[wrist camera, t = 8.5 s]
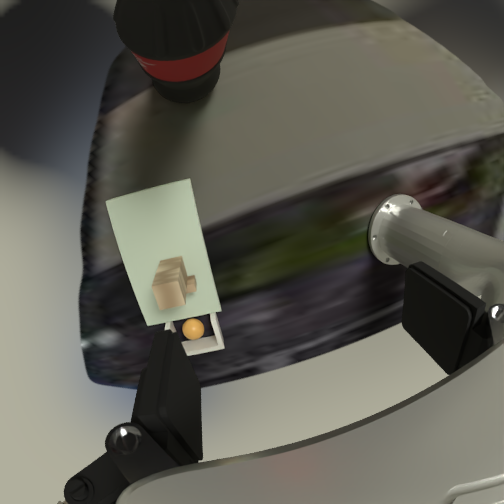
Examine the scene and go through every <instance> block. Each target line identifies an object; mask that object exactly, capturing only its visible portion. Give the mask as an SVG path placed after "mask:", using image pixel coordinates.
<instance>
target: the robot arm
mask: <svg viewBox="0 0 504 504" xmlns="http://www.w3.org/2000/svg"><path fill="white" fill-rule="evenodd" d="M368 240H369V245H370V248H371V251H372V253H373V254H374V256H375V257H376V258H377V259H378V260H380V261H381V262H383V263H385V264H388V265H397V264H400V263H401V264H402V265H404V266H405V267H407V268H408V269H407V270H406V275H405V292H404V304H403V314H402V326H403V328H404V329H405V330H406V331H407V332H408V333H409V334H410V335H411V337H412V338H413V339H414V340H415V341H416V342H417V343H418V344H419V345H420V346H421V347H422V348H423V349H424V350H425V351H426V352H427V353H428V354H429V355H430V356H431V357H432V358H433V360H434V361H435V362H436V363H437V364H438V365H439V366H440V367H441V368H442V369H443V370H444V371H445V372H446V373H447V374H448V375H449V376H447V377H446V378H444V379H442V380H441V381H439V382H437V383H436V384H434V385H432V386H431V387H429V388H427V389H425V390H424V391H421V392H419V393H418V394H416V395H414V396H412V397H410V398H408V399H406V400H404V401H402V402H400V403H398V404H396V405H394V406H392V407H390V408H387V409H385V410H383V411H381V412H379V413H376V414H374V415H372V416H370V417H367V418H365V419H362V420H360V421H357V422H355V423H352V424H350V425H348V426H344V427H342V428H339V429H336V430H333V431H330V432H328V433H325V434H321V435H318V436H315V437H312V438H309V439H306V440H302V441H299V442H295V443H292V444H288V445H284V446H280V447H276V448H272V449H268V450H264V451H259V452H255V453H250V454H246V455H240V456H235V457H230V458H223V459H217V460H212V461H207V462H200V463H198V461H199V460H202V459H203V450H202V421H201V387H200V383H199V380H198V378H197V376H196V374H195V372H194V369H193V367H192V365H191V363H190V361H189V358H188V356H187V354H186V352H185V349H184V347H183V345H182V343H181V340H180V338H179V335H178V333H177V332H172V331H171V330H170V329H168V330H163V331H158V332H155V335H154V339H153V344H152V348H151V352H150V356H149V361H148V365H147V368H144V369H143V370H142V372H141V376H140V380H139V384H138V389H137V393H136V398H135V403H134V408H133V413H132V418H131V422H126V423H122V424H119V425H117V426H115V427H114V428H113V429H112V430H111V431H110V432H109V433H108V435H107V437H106V440H105V447H106V450H107V452H106V453H105V454H103V455H102V456H101V457H99V458H98V459H97V460H95V461H94V462H92V463H91V464H90V465H88V466H87V467H86V468H84V469H83V470H81V471H80V472H79V473H77V474H76V475H74V476H73V477H72V478H70V479H69V480H68V482H67V483H66V485H65V489H64V497H65V501H64V502H61V501H59V502H58V503H57V504H504V241H502V240H499V239H496V238H493V237H491V236H488V235H485V234H483V233H480V232H478V231H475V230H473V229H471V228H468V227H466V226H463V225H461V224H458V223H456V222H453V221H451V220H448V219H445V218H443V217H440V216H437V215H435V214H432V213H429V212H427V211H424V210H422V209H421V206H420V205H419V203H418V202H417V201H416V200H415V199H414V198H412V197H410V196H408V195H404V194H396V195H392V196H390V197H388V198H387V199H385V200H384V201H383V202H382V203H381V204H380V205H379V206H378V207H377V209H376V210H375V212H374V214H373V216H372V218H371V222H370V225H369V231H368ZM480 295H481V299H480V298H478V297H477V296H480Z"/></svg>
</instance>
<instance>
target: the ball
mask: <svg viewBox="0 0 504 504" xmlns="http://www.w3.org/2000/svg"><path fill="white" fill-rule="evenodd" d="M182 330H183V333H184V335H185V336H186V337H187V338H188V339H191V340H196V339H199V338H200V337H201V336H202V335H203V333H204V326H203V324H202V322H201V321H199V320H198V319H194V318H191V319H188V320H187V321H185V323H184V324H183V328H182Z"/></svg>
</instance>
